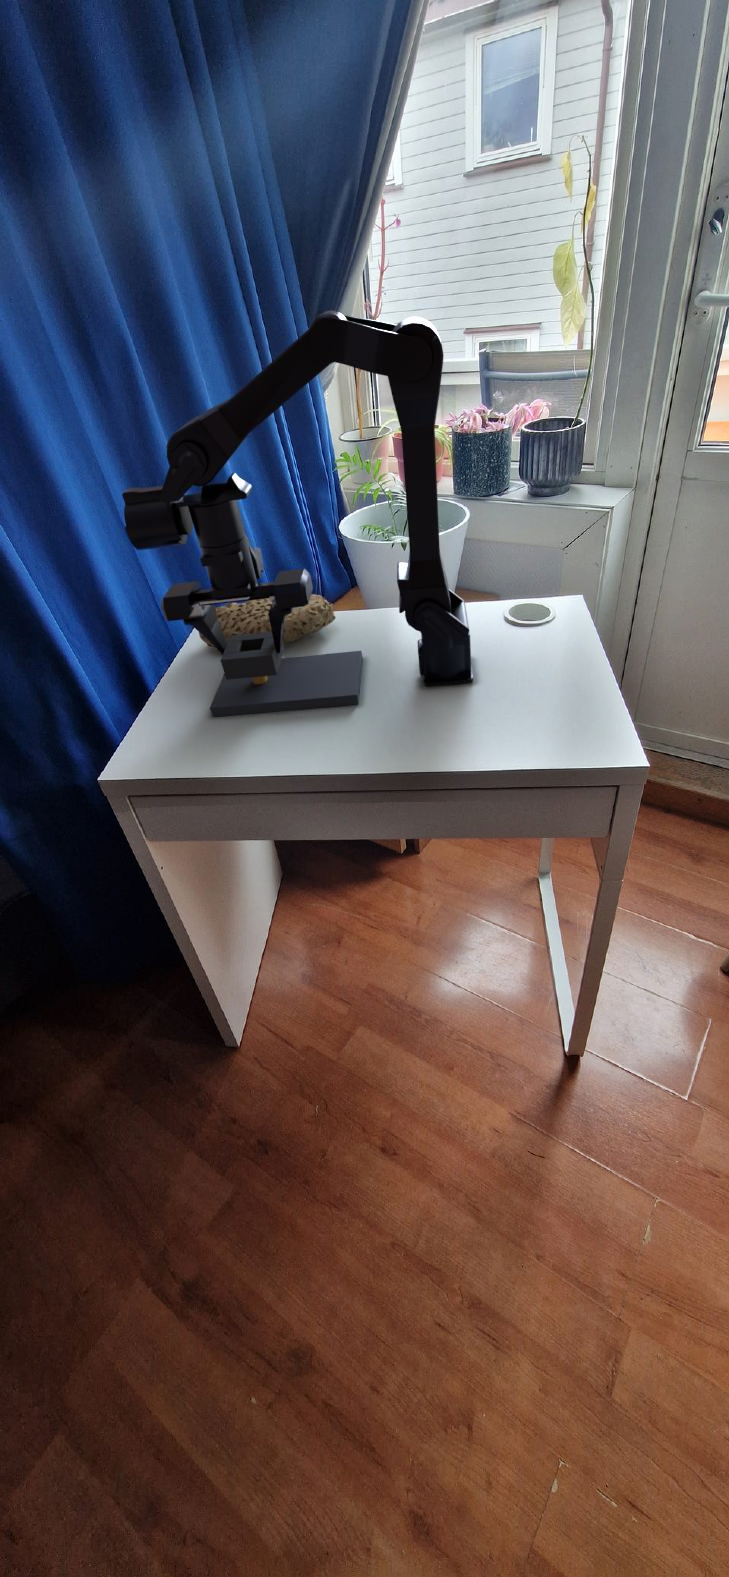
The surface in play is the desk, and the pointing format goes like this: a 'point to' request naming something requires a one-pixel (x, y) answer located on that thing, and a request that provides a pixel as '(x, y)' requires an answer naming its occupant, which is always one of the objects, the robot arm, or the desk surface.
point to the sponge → (256, 620)
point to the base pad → (294, 686)
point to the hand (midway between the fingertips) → (253, 654)
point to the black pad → (251, 656)
